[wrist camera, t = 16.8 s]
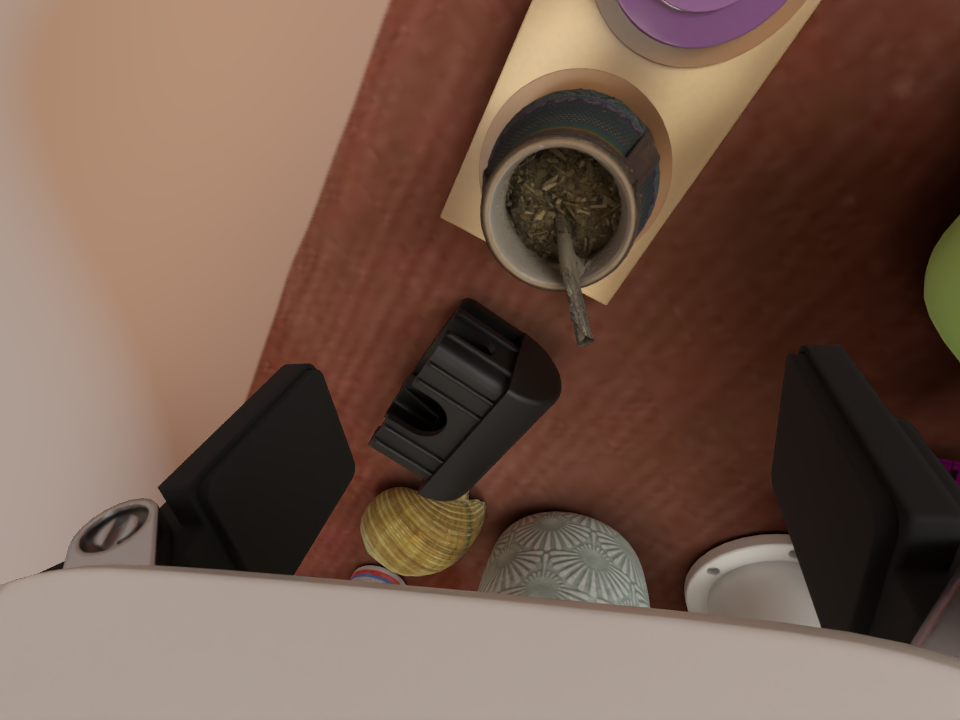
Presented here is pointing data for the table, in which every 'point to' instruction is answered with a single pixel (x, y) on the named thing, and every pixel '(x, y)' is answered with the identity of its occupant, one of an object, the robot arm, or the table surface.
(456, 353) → the end cap
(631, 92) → the serving board
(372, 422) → the table surface
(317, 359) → the table surface
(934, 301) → the teapot
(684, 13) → the plum plate
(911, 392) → the table surface
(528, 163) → the mate gourd
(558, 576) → the planter
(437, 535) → the seashell
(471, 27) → the table surface
